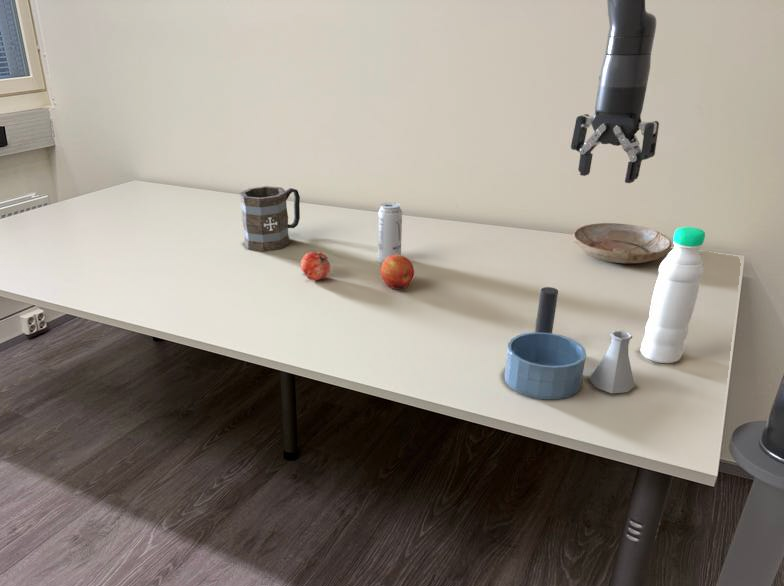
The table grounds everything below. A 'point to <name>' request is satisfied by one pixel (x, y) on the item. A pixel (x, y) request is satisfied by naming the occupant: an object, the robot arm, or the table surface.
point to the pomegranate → (315, 265)
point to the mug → (267, 217)
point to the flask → (615, 366)
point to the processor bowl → (544, 365)
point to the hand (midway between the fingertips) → (606, 178)
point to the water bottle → (674, 298)
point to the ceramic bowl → (621, 242)
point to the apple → (397, 271)
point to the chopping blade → (546, 310)
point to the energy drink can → (389, 230)
